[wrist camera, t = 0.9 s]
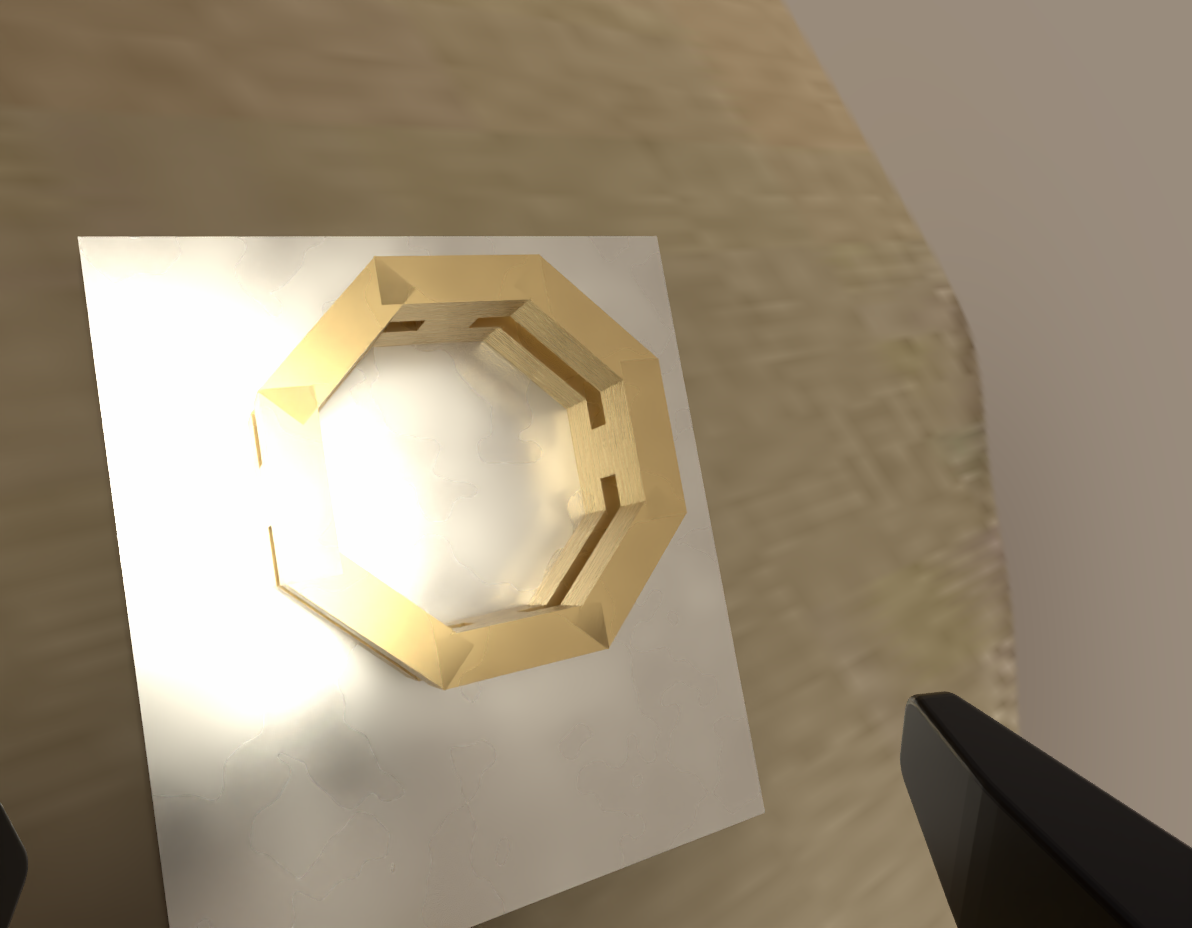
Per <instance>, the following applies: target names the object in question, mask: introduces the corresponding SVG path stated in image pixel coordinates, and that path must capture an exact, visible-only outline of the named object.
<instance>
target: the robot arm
mask: <svg viewBox="0 0 1192 928" xmlns="http://www.w3.org/2000/svg"><path fill="white" fill-rule="evenodd" d="M900 764H901V771H902V775H903V779H904V782H905V785H906V788H907V790H908V793H909V796H910V799H911V802H912V804H913V807H914V810H915V813H916V815H917V818H918V821H919V824H920V827H921V829H922V832H923V835H924V838H925V840H926V843H927V846H928V849H929V851H930V854H931V857H932V860H933V863H934V865H935V868H936V871H937V874H938V876H939V879H940V882H941V885H942V888H943V890H944V893H945V896H946V899H947V901H948V904H949V907H950V909H951V912H952V915H953V917H954V920H955V922H956V925H957V928H1192V848H1191V847H1190V846H1188V845H1187V844H1185V843H1184V842H1182V841H1180V840H1179V839H1177V838H1176V837H1174V836H1172V835H1171V834H1170V833H1168V832H1166V831H1165V830H1164V829H1162V828H1160V827H1159V826H1157V825H1156V824H1154V823H1153V822H1151V821H1150V820H1148V819H1147V818H1145V817H1143V816H1142V815H1140V814H1139V813H1137V812H1136V811H1134V810H1133V809H1131V808H1130V807H1128V806H1127V805H1125V804H1124V803H1122V802H1120V801H1119V800H1117V799H1116V798H1114V797H1113V796H1111V795H1110V794H1108V793H1107V792H1105V791H1103V790H1102V789H1100V788H1099V787H1097V786H1095V785H1094V784H1093V783H1091V782H1090V781H1088V780H1086V779H1085V778H1083V777H1082V776H1080V775H1079V774H1077V773H1076V772H1074V771H1073V770H1071V769H1070V768H1068V767H1067V766H1065V765H1063V764H1062V763H1060V762H1059V761H1057V760H1056V759H1054V758H1053V757H1051V756H1049V755H1048V754H1047V753H1045V752H1043V751H1042V750H1040V749H1039V748H1037V747H1036V746H1034V745H1033V744H1031V743H1030V742H1028V741H1026V740H1025V739H1023V738H1022V737H1020V736H1019V735H1017V734H1016V733H1014V732H1013V731H1011V730H1010V729H1008V728H1006V727H1005V726H1003V725H1002V724H1000V723H999V722H997V721H996V720H994V719H993V718H991V717H990V716H988V715H986V714H985V713H983V712H982V711H980V710H979V709H977V708H976V707H974V706H973V705H971V704H970V703H968V702H966V701H965V700H963V699H962V698H960V697H959V696H957V695H955V694H953V693H950V692H935V693H926V694H916V695H914V696H912V697H910V698H909V699H908V701H907V704H906V708H905V716H904V725H903V734H902V743H901V752H900ZM27 871H28V857H27V852H26V850H25V848H24V846H23V844H22V842H21V840H20V838H19V836H18V834H17V833H16V831H15V829H14V827H13V825H12V823H11V821H10V819H9V817H8V815H7V814H6V812H5V810H4V808H3V806H2V804H1V803H0V928H8V927H9V924H10V922H11V919H12V916H13V913H14V911H15V908H16V905H17V903H18V900H19V897H20V894H21V892H22V889H23V886H24V883H25V880H26V876H27Z"/></svg>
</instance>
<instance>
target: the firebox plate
mask: <svg viewBox="0 0 1192 928" xmlns="http://www.w3.org/2000/svg"><path fill="white" fill-rule="evenodd" d="M78 241H79V249H80V256H81V264H82V271H83V279H84V286H85V294H86V301H87V309H88V316H89V324H90V331H91V339H92V346H93V354H94V362H95V369H96V377H97V384H98V392H99V399H100V407H101V414H102V422H103V429H104V437H105V444H106V452H107V459H108V467H109V474H110V482H111V490H112V497H113V505H114V512H115V520H116V527H117V535H118V542H119V550H120V557H121V565H122V572H123V580H124V587H125V595H126V602H127V610H128V617H129V625H130V633H131V640H132V648H133V655H134V663H135V670H136V678H137V685H138V693H139V700H140V708H141V715H142V723H143V730H144V738H145V745H146V753H147V760H148V768H149V776H150V783H151V791H152V798H153V806H154V813H155V821H156V828H157V836H158V843H159V851H160V858H161V866H162V873H163V881H164V888H165V896H166V903H167V911H168V919H169V926H170V928H470V927H472V926H475V925H478V924H480V923H483V922H485V921H488V920H490V919H493V918H496V917H498V916H501V915H503V914H506V913H508V912H511V911H514V910H516V909H519V908H521V907H524V906H526V905H529V904H532V903H534V902H537V901H539V900H542V899H544V898H547V897H550V896H552V895H555V894H557V893H560V892H562V891H565V890H567V889H570V888H573V887H575V886H578V885H580V884H583V883H585V882H588V881H591V880H593V879H596V878H598V877H601V876H603V875H606V874H609V873H611V872H614V871H616V870H619V869H621V868H624V867H627V866H629V865H632V864H634V863H637V862H639V861H642V860H645V859H647V858H650V857H652V856H655V855H657V854H660V853H662V852H665V851H668V850H670V849H673V848H675V847H678V846H680V845H683V844H686V843H688V842H691V841H693V840H696V839H698V838H701V837H704V836H706V835H709V834H711V833H714V832H716V831H719V830H722V829H724V828H727V827H729V826H732V825H734V824H737V823H740V822H742V821H745V820H747V819H750V818H752V817H755V816H757V815H760V814H763V813H765V810H764V804H763V799H762V794H761V788H760V783H759V778H758V772H757V767H756V762H755V757H754V751H753V746H752V741H751V735H750V730H749V725H748V719H747V714H746V709H745V703H744V698H743V693H742V687H741V682H740V677H739V671H738V666H737V661H736V655H735V650H734V645H733V640H732V634H731V629H730V624H729V618H728V613H727V608H726V602H725V597H724V592H723V586H722V581H721V576H720V570H719V565H718V560H717V554H716V549H715V544H714V538H713V533H712V528H711V522H710V517H709V512H708V507H707V501H706V496H705V491H704V485H703V480H702V475H701V469H700V464H699V459H698V453H697V448H696V443H695V437H694V432H693V427H692V421H691V416H690V411H689V405H688V400H687V395H686V390H685V384H684V379H683V374H682V368H681V363H680V358H679V352H678V347H677V342H676V336H675V331H674V326H673V320H672V315H671V310H670V304H669V299H668V294H667V288H666V283H665V278H664V272H663V267H662V262H661V257H660V251H659V246H658V241H657V236H402V237H78Z"/></svg>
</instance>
